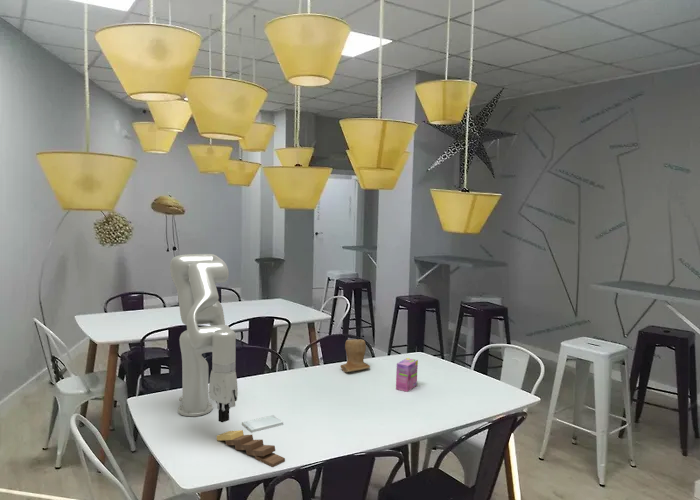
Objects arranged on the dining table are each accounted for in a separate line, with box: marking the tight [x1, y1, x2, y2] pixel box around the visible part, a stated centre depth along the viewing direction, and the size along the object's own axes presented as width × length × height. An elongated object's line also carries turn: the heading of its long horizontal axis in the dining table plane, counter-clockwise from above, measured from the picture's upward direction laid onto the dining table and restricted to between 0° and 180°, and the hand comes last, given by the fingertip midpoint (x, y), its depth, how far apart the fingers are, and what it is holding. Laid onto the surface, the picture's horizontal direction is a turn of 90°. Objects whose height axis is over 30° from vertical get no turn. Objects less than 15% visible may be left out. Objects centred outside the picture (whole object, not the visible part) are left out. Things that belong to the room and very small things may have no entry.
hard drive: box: [241, 414, 284, 433], centre depth 184 cm, size 2×8×12 cm
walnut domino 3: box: [245, 444, 276, 457], centre depth 160 cm, size 2×5×8 cm
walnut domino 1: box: [224, 434, 254, 446], centre depth 166 cm, size 2×5×8 cm
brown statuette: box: [340, 338, 371, 373], centre depth 251 cm, size 15×12×15 cm
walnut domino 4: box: [254, 452, 286, 468], centre depth 157 cm, size 2×5×8 cm
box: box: [395, 357, 419, 393], centre depth 226 cm, size 10×6×12 cm, turn 148°
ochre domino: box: [216, 429, 245, 441], centre depth 169 cm, size 2×5×8 cm
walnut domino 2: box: [234, 439, 265, 451], centre depth 163 cm, size 2×5×8 cm
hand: (223, 420), depth 171 cm, fingers closed
